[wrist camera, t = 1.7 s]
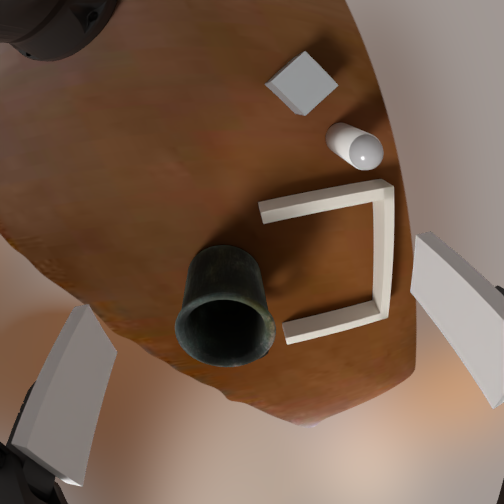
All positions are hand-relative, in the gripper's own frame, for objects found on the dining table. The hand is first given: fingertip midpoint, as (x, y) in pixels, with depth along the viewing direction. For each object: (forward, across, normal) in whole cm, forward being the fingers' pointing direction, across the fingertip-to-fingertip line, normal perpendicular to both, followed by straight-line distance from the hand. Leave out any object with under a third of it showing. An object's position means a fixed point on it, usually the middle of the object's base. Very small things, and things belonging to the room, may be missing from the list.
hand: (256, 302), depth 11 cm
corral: (+27, +10, -17) cm, 33 cm away
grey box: (+27, +9, +8) cm, 29 cm away
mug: (+27, -4, -17) cm, 32 cm away
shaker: (+27, +13, 0) cm, 30 cm away
